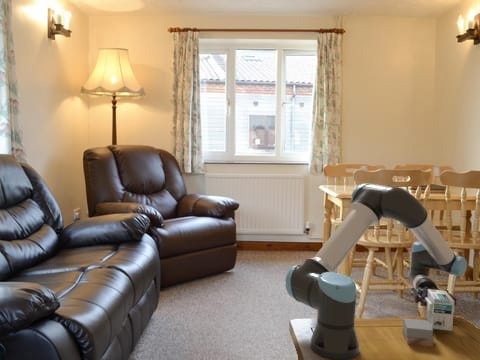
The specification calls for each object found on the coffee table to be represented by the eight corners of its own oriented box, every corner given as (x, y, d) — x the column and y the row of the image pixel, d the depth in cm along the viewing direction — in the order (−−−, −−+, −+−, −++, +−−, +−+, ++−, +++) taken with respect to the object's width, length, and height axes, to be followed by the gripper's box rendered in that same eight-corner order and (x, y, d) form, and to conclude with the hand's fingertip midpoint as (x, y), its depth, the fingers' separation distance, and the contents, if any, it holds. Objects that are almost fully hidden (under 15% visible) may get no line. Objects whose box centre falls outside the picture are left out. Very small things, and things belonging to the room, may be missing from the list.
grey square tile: (406, 336, 149) (407, 327, 148) (403, 326, 156) (403, 318, 156) (432, 339, 147) (433, 330, 147) (427, 329, 155) (428, 320, 154)
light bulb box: (452, 331, 154) (455, 300, 152) (431, 329, 155) (434, 298, 154) (444, 319, 164) (446, 290, 163) (424, 317, 165) (427, 288, 164)
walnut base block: (407, 345, 148) (408, 337, 148) (402, 335, 156) (402, 326, 156) (433, 347, 147) (433, 339, 147) (426, 337, 155) (426, 328, 155)
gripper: (450, 298, 178) (471, 321, 155) (398, 294, 181) (411, 316, 158) (452, 279, 177) (473, 300, 154) (400, 275, 180) (412, 295, 157)
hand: (441, 308), depth 156 cm, fingers closed on light bulb box, 7 cm apart
